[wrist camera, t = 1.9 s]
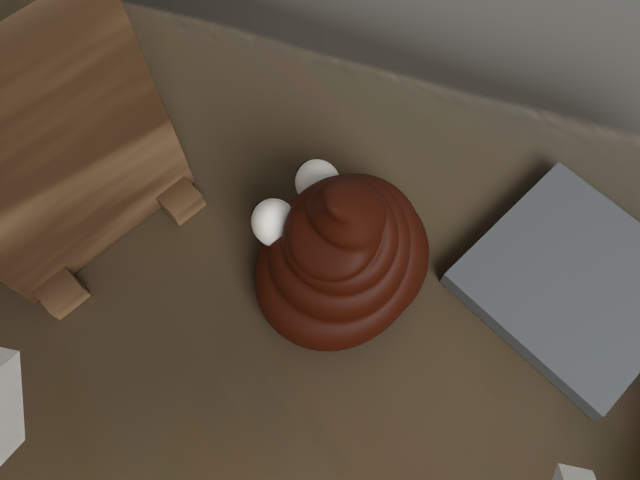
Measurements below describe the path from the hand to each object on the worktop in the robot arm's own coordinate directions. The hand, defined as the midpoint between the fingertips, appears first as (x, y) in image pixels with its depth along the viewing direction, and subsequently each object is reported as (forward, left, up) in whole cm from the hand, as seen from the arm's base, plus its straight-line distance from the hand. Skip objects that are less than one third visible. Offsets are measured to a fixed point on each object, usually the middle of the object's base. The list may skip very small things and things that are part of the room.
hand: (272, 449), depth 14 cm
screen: (-17, +1, -15) cm, 22 cm away
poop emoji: (-6, +9, -15) cm, 18 cm away
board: (+3, +17, -15) cm, 23 cm away
